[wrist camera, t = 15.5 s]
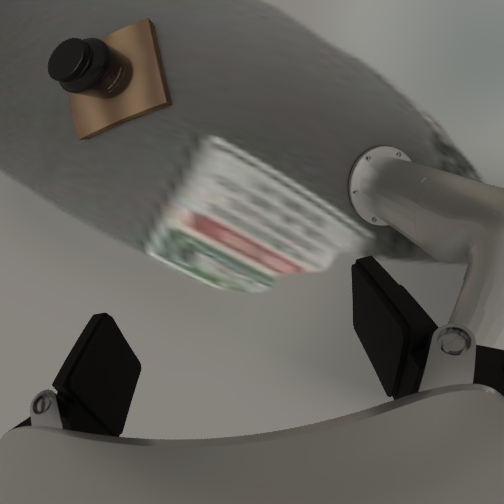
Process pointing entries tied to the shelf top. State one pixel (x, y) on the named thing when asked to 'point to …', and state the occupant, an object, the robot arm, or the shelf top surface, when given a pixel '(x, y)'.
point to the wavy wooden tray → (137, 91)
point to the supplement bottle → (90, 68)
